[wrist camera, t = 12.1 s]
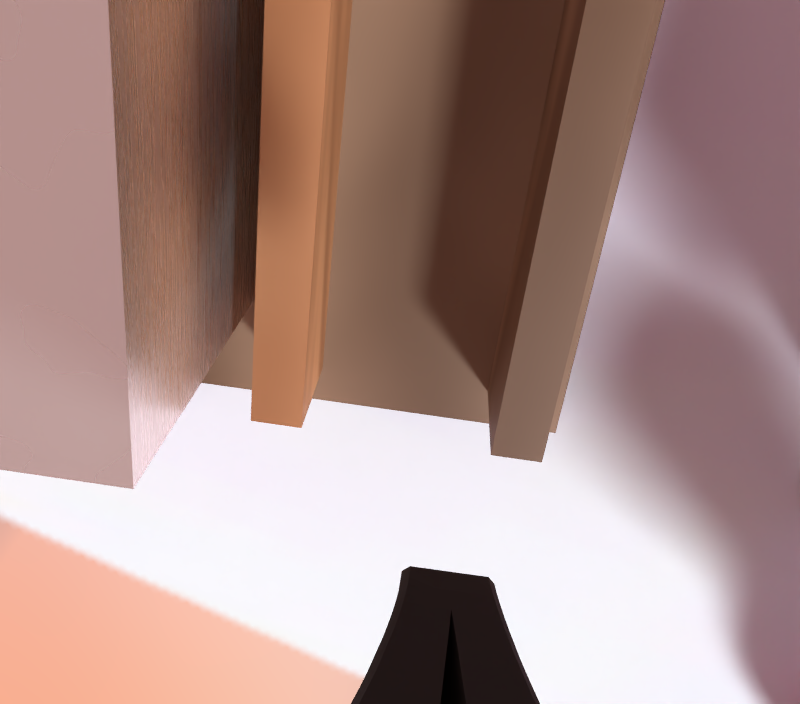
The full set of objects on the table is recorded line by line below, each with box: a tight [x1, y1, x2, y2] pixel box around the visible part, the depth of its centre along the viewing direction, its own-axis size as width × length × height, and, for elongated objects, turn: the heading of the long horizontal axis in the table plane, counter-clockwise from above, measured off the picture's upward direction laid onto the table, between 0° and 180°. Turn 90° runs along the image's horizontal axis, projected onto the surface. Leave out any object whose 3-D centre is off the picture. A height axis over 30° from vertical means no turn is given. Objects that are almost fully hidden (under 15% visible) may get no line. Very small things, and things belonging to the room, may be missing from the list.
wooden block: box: [0, 0, 263, 489], centre depth 14 cm, size 9×3×8 cm, turn 173°
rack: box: [201, 0, 665, 462], centre depth 17 cm, size 20×14×4 cm
